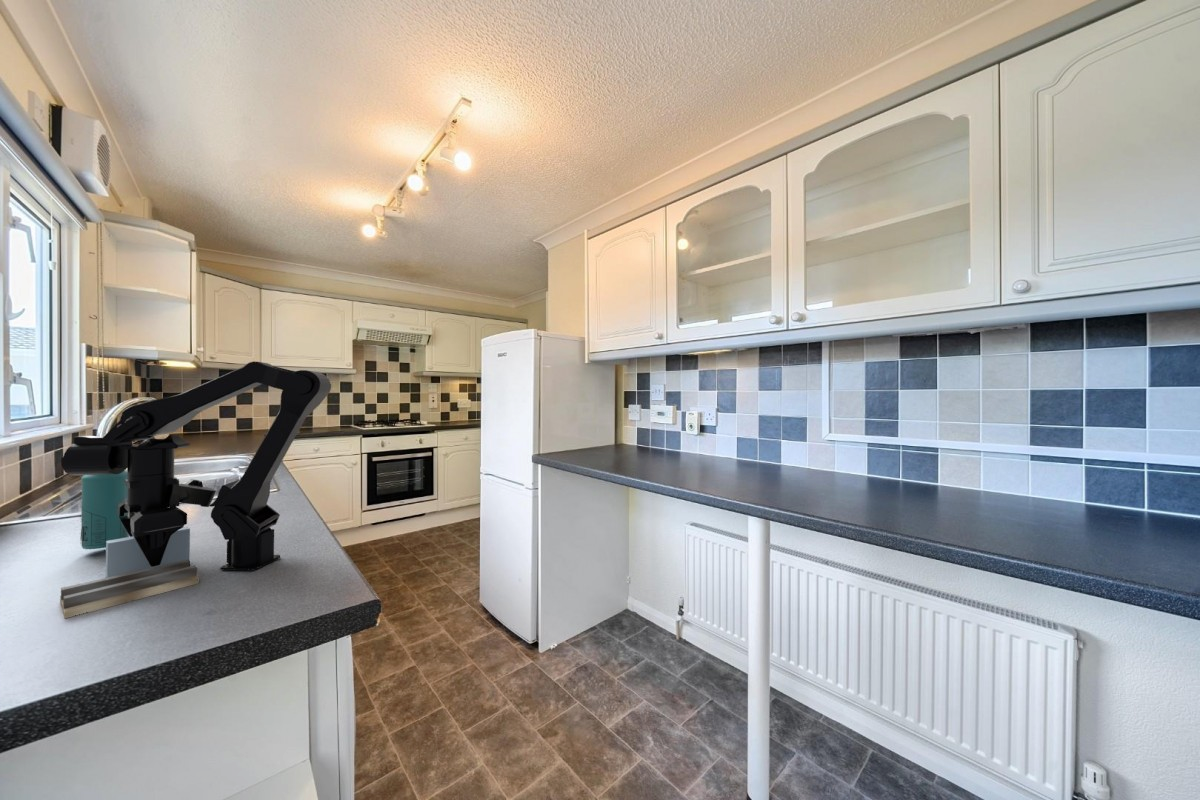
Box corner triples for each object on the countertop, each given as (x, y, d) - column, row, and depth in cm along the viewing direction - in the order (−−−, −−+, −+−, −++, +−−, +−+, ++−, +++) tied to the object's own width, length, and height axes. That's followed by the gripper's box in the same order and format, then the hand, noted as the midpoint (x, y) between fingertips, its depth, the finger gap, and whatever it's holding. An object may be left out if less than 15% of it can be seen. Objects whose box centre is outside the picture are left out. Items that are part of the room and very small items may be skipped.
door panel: (186, 563, 79) (187, 526, 79) (189, 565, 78) (189, 528, 78) (105, 581, 71) (106, 541, 71) (107, 584, 69) (107, 543, 69)
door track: (186, 571, 75) (186, 557, 75) (198, 583, 70) (198, 568, 70) (60, 601, 63) (60, 585, 63) (64, 618, 59) (64, 601, 59)
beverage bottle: (139, 546, 86) (140, 451, 86) (97, 558, 80) (99, 455, 80) (112, 544, 87) (113, 450, 87) (68, 556, 80) (70, 454, 80)
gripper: (226, 473, 75) (224, 557, 75) (198, 462, 86) (197, 537, 86) (135, 482, 66) (133, 579, 66) (116, 469, 77) (115, 552, 77)
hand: (150, 559), depth 74 cm, fingers open, 9 cm apart
